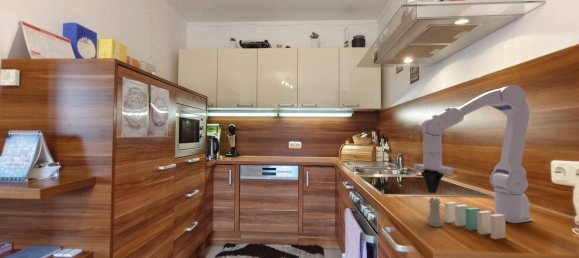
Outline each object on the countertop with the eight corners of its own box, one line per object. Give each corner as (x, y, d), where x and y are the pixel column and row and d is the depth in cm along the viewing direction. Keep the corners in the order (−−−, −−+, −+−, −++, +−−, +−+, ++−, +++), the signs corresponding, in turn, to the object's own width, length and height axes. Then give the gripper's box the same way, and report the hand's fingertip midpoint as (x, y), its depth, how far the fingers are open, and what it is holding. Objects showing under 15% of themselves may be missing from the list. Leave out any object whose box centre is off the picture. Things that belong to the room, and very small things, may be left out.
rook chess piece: (445, 228, 78) (445, 201, 79) (429, 227, 79) (429, 200, 79) (440, 223, 83) (439, 197, 83) (424, 222, 84) (424, 196, 84)
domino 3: (476, 227, 79) (476, 207, 79) (480, 229, 78) (480, 208, 78) (465, 228, 78) (465, 208, 78) (469, 230, 77) (469, 209, 77)
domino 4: (487, 231, 76) (487, 210, 76) (491, 232, 75) (491, 211, 75) (477, 233, 75) (477, 211, 75) (481, 234, 73) (481, 212, 74)
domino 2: (464, 223, 82) (464, 204, 83) (467, 225, 81) (467, 205, 81) (454, 225, 81) (454, 205, 81) (458, 226, 80) (458, 206, 80)
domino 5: (500, 235, 73) (500, 213, 73) (505, 237, 71) (505, 215, 72) (490, 237, 71) (490, 215, 71) (495, 239, 70) (495, 216, 70)
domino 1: (453, 220, 86) (453, 201, 86) (457, 221, 85) (457, 202, 85) (444, 221, 84) (444, 202, 85) (448, 222, 83) (447, 203, 83)
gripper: (407, 152, 97) (407, 189, 97) (441, 154, 84) (442, 197, 83) (422, 152, 100) (422, 188, 99) (458, 154, 86) (458, 196, 86)
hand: (432, 192), depth 91 cm, fingers closed
